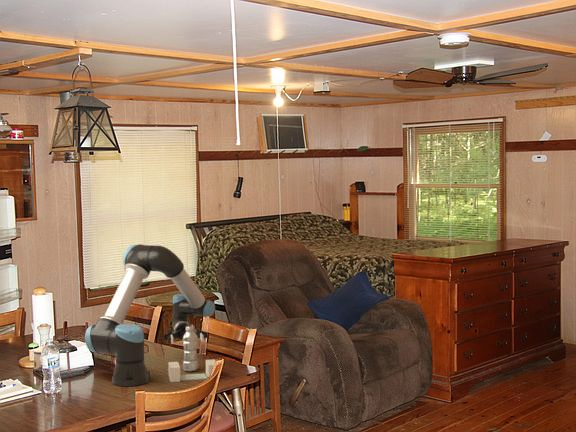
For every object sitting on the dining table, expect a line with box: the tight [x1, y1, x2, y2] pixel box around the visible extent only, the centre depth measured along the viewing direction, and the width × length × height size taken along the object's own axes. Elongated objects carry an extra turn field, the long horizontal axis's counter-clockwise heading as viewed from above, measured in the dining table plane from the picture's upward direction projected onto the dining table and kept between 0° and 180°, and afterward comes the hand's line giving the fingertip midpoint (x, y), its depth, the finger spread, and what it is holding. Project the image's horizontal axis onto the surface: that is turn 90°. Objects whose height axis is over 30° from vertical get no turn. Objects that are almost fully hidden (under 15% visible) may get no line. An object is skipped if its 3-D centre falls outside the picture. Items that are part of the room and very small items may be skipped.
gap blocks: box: [167, 358, 216, 383], centre depth 329 cm, size 10×20×6 cm, turn 104°
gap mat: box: [180, 372, 208, 382], centre depth 329 cm, size 8×11×1 cm
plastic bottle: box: [182, 324, 199, 372], centre depth 339 cm, size 6×7×20 cm
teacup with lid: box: [32, 343, 45, 370], centre depth 341 cm, size 12×9×12 cm
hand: (187, 339), depth 349 cm, fingers open, 13 cm apart
